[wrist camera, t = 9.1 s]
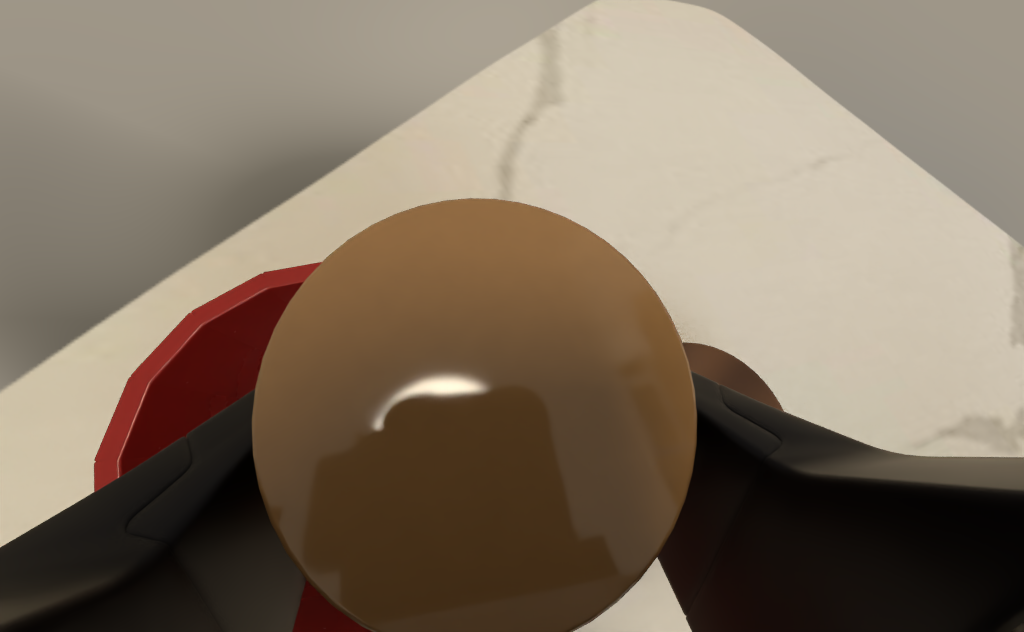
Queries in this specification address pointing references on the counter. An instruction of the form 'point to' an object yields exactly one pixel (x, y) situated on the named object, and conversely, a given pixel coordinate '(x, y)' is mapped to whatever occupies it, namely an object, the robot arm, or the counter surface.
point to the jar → (474, 423)
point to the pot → (207, 393)
